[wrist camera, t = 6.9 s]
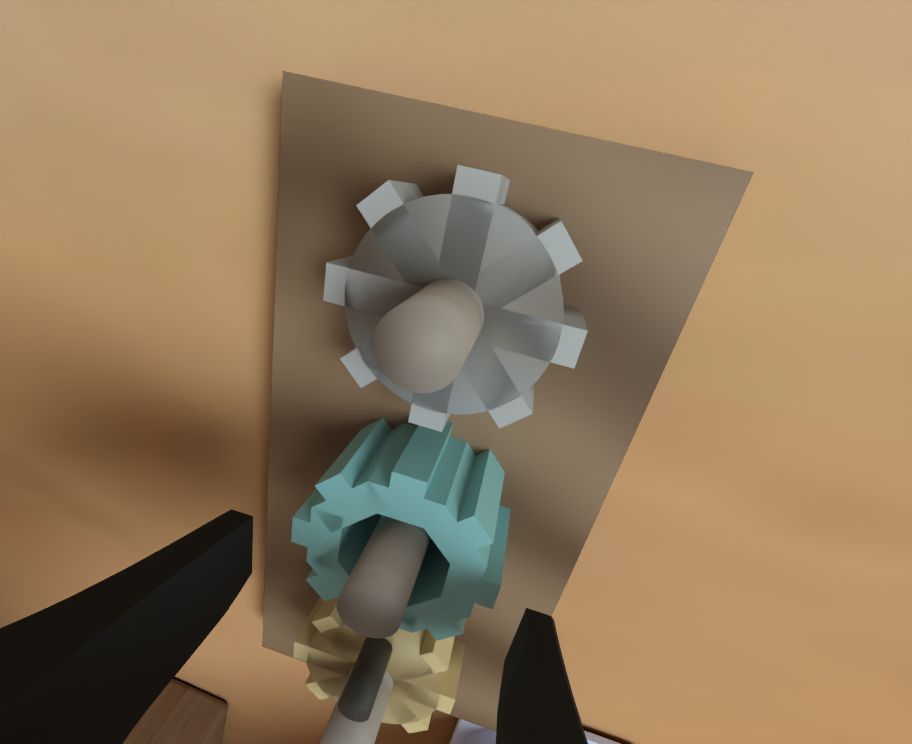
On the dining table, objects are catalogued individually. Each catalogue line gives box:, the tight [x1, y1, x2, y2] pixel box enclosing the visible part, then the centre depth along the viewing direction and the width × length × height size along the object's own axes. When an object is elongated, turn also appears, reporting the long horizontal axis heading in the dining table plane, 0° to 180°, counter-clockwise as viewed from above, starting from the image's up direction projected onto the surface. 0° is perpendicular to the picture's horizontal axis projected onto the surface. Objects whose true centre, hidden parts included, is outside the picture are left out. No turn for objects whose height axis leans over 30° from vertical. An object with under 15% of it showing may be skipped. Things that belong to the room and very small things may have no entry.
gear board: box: [262, 71, 754, 744], centre depth 13 cm, size 22×11×6 cm, turn 168°
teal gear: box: [291, 418, 510, 641], centre depth 13 cm, size 6×6×3 cm
